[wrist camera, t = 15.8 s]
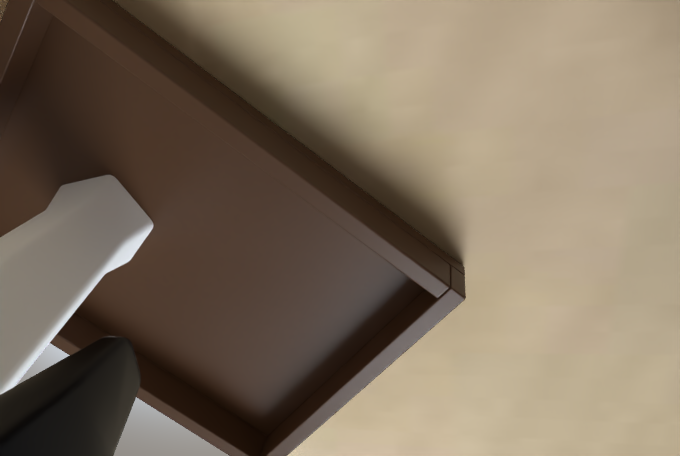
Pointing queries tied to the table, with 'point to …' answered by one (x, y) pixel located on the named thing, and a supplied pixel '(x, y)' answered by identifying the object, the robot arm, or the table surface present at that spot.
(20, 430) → the robot arm
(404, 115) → the table surface
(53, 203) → the perfume bottle
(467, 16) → the table surface
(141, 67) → the tray
